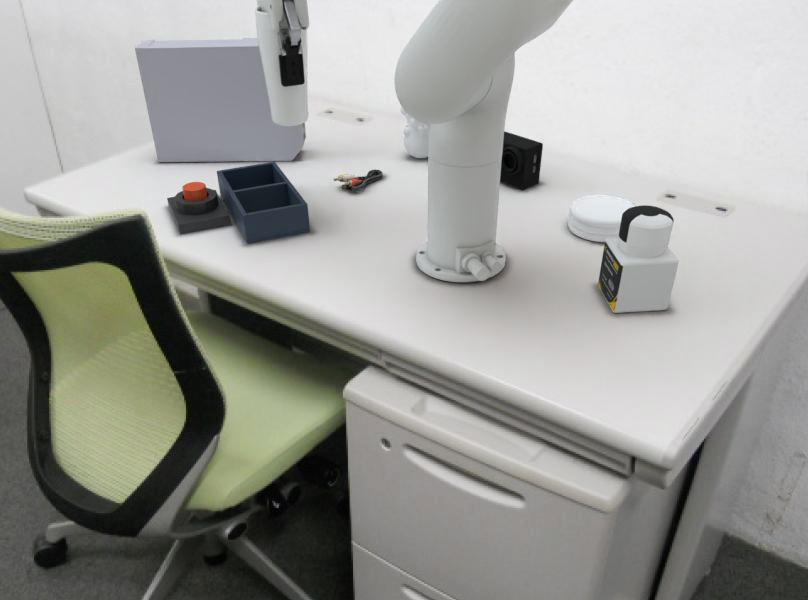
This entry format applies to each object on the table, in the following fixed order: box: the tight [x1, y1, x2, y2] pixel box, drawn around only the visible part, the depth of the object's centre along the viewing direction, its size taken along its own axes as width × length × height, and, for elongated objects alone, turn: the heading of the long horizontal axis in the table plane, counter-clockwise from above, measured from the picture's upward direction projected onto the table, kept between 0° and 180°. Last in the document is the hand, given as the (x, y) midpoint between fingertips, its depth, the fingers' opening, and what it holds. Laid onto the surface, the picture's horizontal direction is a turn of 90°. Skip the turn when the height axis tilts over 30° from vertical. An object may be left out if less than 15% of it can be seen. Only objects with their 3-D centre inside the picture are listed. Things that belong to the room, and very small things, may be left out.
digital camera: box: [500, 130, 544, 191], centre depth 131 cm, size 10×5×7 cm, turn 42°
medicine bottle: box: [597, 204, 679, 314], centre depth 98 cm, size 7×7×12 cm
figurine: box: [399, 105, 430, 159], centre depth 139 cm, size 7×7×12 cm
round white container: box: [567, 194, 636, 243], centre depth 116 cm, size 10×10×4 cm
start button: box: [181, 181, 207, 201], centre depth 122 cm, size 4×4×2 cm
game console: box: [134, 37, 307, 163], centre depth 139 cm, size 6×27×20 cm, turn 88°
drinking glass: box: [254, 6, 309, 126], centre depth 108 cm, size 7×7×15 cm
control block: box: [166, 187, 232, 235], centre depth 124 cm, size 11×8×4 cm
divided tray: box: [216, 161, 311, 245], centre depth 123 cm, size 19×10×5 cm, turn 21°
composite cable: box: [332, 169, 383, 193], centre depth 132 cm, size 10×5×2 cm, turn 130°
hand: (286, 76), depth 109 cm, fingers closed on drinking glass, 6 cm apart
